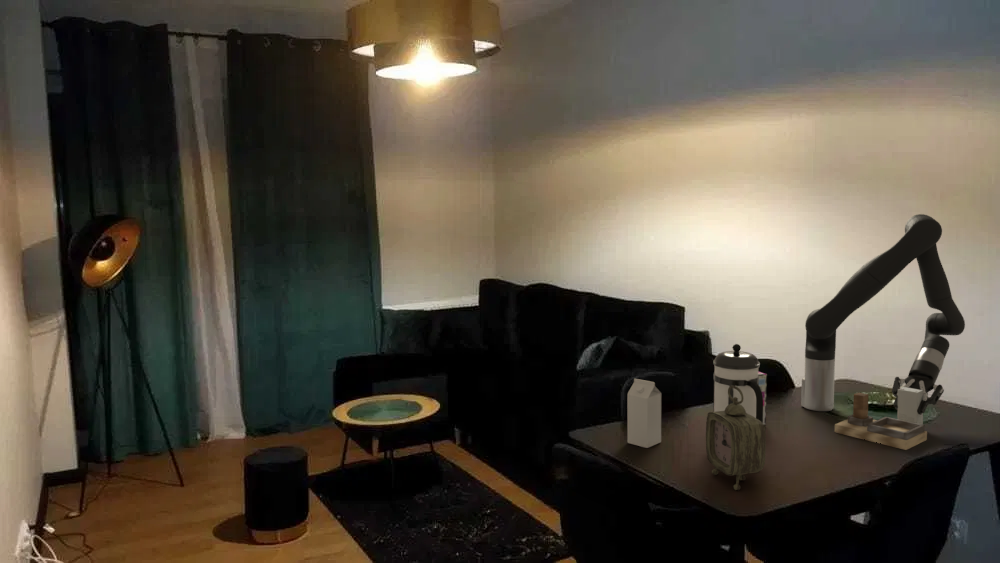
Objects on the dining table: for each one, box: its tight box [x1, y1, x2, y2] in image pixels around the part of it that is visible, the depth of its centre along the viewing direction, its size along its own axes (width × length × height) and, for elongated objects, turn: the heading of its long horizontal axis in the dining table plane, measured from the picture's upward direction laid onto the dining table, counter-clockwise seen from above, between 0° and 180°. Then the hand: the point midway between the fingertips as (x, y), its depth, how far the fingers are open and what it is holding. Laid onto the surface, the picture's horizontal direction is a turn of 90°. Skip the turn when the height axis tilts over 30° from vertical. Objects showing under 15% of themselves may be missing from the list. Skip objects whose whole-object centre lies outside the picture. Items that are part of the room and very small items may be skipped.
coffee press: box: [712, 343, 763, 423], centre depth 217 cm, size 17×16×30 cm
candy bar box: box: [758, 370, 768, 426], centre depth 241 cm, size 11×5×16 cm, turn 16°
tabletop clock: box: [705, 386, 767, 491], centre depth 192 cm, size 14×9×25 cm, turn 13°
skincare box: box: [896, 386, 924, 425], centre depth 230 cm, size 6×4×12 cm
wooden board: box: [834, 392, 928, 451], centre depth 224 cm, size 21×13×12 cm, turn 38°
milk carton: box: [626, 378, 662, 449], centre depth 223 cm, size 7×7×19 cm
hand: (907, 410), depth 228 cm, fingers closed on skincare box, 6 cm apart
